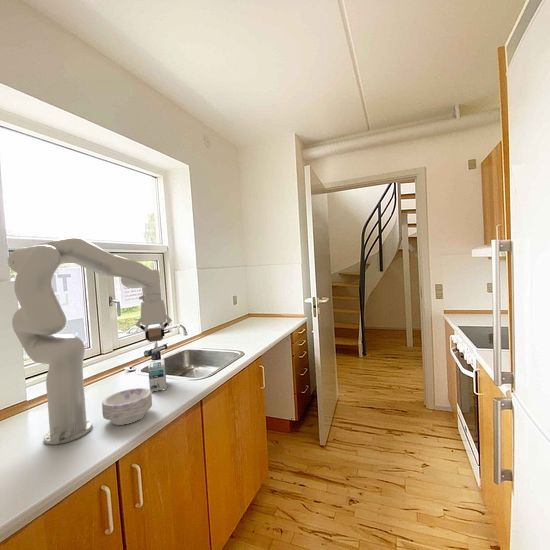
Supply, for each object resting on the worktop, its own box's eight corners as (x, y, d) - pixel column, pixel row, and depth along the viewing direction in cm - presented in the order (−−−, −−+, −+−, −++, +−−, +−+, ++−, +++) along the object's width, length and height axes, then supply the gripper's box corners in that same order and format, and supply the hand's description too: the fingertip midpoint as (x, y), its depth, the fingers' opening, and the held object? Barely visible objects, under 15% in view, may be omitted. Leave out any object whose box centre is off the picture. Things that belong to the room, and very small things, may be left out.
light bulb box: (166, 390, 123) (165, 364, 123) (149, 393, 120) (147, 367, 120) (166, 381, 133) (164, 358, 133) (150, 384, 130) (148, 360, 130)
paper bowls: (147, 404, 110) (146, 383, 110) (157, 419, 98) (155, 396, 98) (101, 417, 102) (100, 395, 102) (105, 436, 89) (103, 410, 89)
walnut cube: (161, 340, 125) (160, 328, 125) (149, 342, 123) (148, 330, 123) (161, 338, 130) (160, 327, 130) (149, 339, 128) (148, 328, 128)
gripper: (130, 300, 119) (133, 344, 120) (173, 296, 126) (176, 337, 126) (131, 299, 126) (134, 340, 127) (172, 295, 133) (175, 334, 133)
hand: (155, 338), depth 127 cm, fingers closed on walnut cube, 4 cm apart
